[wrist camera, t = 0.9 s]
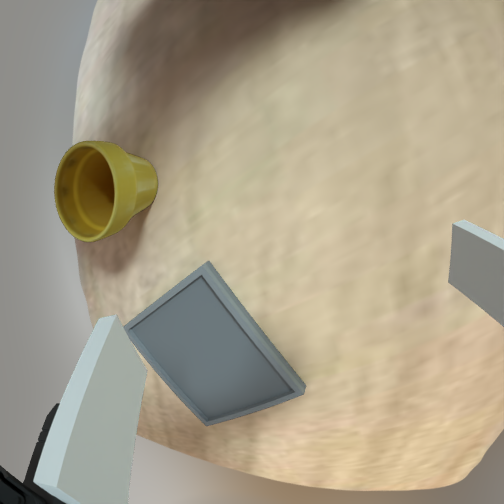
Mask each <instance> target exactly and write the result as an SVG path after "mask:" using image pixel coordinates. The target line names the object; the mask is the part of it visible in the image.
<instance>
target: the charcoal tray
mask: <svg viewBox="0 0 504 504" xmlns="http://www.w3.org/2000/svg"><path fill="white" fill-rule="evenodd" d="M123 328H124V330H125V331H126V333H127V335H128V337H129V339H130V340H131V341H132V343H133V344H134V345H135V347H136V348H137V349H138V350H139V352H140V353H141V354H142V355H143V357H144V358H145V359H146V360H147V362H148V363H149V364H150V365H151V366H152V368H153V369H154V370H155V371H156V372H157V374H158V375H159V376H160V377H161V378H162V379H163V381H164V382H165V383H166V384H167V385H168V386H169V387H170V389H171V390H172V391H173V392H174V393H175V394H176V395H177V396H178V397H179V399H180V400H181V401H182V402H183V403H184V404H185V405H186V406H187V407H188V408H189V409H190V410H191V411H192V412H193V413H194V414H195V415H196V416H197V417H198V418H199V419H200V420H201V421H202V422H203V423H204V424H205V425H206V426H209V425H213V424H217V423H220V422H224V421H227V420H231V419H234V418H238V417H241V416H244V415H247V414H250V413H254V412H257V411H260V410H263V409H265V408H268V407H271V406H274V405H277V404H280V403H282V402H285V401H288V400H290V399H293V398H296V397H298V396H301V395H303V394H304V392H305V388H306V385H305V383H304V382H303V381H302V380H301V378H300V377H299V376H298V375H297V374H296V372H295V371H294V370H293V369H292V367H291V366H290V365H289V364H288V362H287V361H286V360H285V359H284V357H283V356H282V355H281V354H280V352H279V351H278V350H277V349H276V347H275V346H274V345H273V344H272V342H271V341H270V340H269V339H268V337H267V336H266V335H265V334H264V332H263V331H262V330H261V328H260V327H259V326H258V325H257V323H256V322H255V321H254V319H253V318H252V317H251V316H250V314H249V313H248V312H247V310H246V309H245V308H244V306H243V305H242V304H241V303H240V301H239V300H238V299H237V297H236V296H235V295H234V293H233V292H232V291H231V289H230V288H229V287H228V285H227V284H226V283H225V281H224V280H223V279H222V277H221V276H220V275H219V273H218V272H217V271H216V269H215V268H214V267H213V265H212V264H211V263H210V261H208V262H206V263H205V264H203V265H202V266H200V267H199V268H198V269H197V270H195V271H194V272H193V273H191V274H190V275H189V276H187V277H186V278H185V279H184V280H182V281H181V282H180V283H178V284H177V285H176V286H175V287H173V288H172V289H171V290H169V291H168V292H167V293H166V294H164V295H163V296H162V297H160V298H159V299H158V300H157V301H155V302H154V303H153V304H152V305H150V306H149V307H148V308H146V309H145V310H144V311H143V312H141V313H140V314H139V315H138V316H136V317H135V318H134V319H132V320H131V321H130V322H129V323H127V324H126V325H125V326H124V327H123Z"/></svg>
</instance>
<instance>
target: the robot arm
mask: <svg viewBox="0 0 504 504" xmlns="http://www.w3.org/2000/svg"><path fill="white" fill-rule="evenodd" d="M448 283H450V284H451V285H452V286H454V287H455V288H456V289H458V290H459V291H460V292H462V293H463V294H464V295H465V296H467V297H468V298H469V299H470V300H472V301H473V302H474V303H475V304H477V305H478V306H479V307H480V308H482V309H483V310H484V311H485V312H487V313H488V314H489V315H490V316H491V317H493V318H494V319H495V320H496V321H497V322H499V323H500V324H501V325H502V326H503V327H504V239H503V238H501V237H499V236H497V235H495V234H493V233H491V232H489V231H487V230H485V229H483V228H481V227H479V226H476V225H474V224H472V223H470V222H468V221H466V220H462V221H459V222H456V223H453V224H452V245H451V259H450V270H449V280H448ZM147 371H148V370H147V369H146V367H145V365H144V364H143V362H142V360H141V359H140V357H139V355H138V353H137V352H136V350H135V348H134V346H133V344H132V343H131V341H130V339H129V337H128V335H127V333H126V331H125V330H124V328H123V326H122V324H121V322H120V320H119V318H118V316H117V314H116V315H112V316H107V317H103V318H99V320H98V321H97V323H96V325H95V327H94V329H93V331H92V333H91V335H90V338H89V340H88V342H87V344H86V346H85V348H84V350H83V352H82V354H81V356H80V358H79V361H78V363H77V365H76V367H75V369H74V372H73V374H72V376H71V378H70V381H69V383H68V385H67V388H66V390H65V392H64V395H63V397H62V400H61V402H60V403H59V404H56V405H55V406H54V408H53V409H52V410H51V411H50V413H49V414H48V415H47V417H46V420H45V422H44V425H43V427H42V430H43V431H42V432H41V433H40V436H39V438H38V441H39V442H37V443H36V446H35V449H34V452H33V455H32V458H31V461H30V464H29V467H28V470H27V473H26V477H25V480H24V482H23V483H21V482H20V481H19V480H18V479H16V478H15V477H14V476H12V475H11V474H10V473H9V472H8V471H6V470H5V469H4V468H3V467H1V466H0V504H128V497H129V486H130V478H131V469H132V461H133V454H134V446H135V440H136V433H137V427H138V420H139V414H140V408H141V403H142V397H143V392H144V386H145V381H146V376H147Z"/></svg>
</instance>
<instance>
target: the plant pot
mask: <svg viewBox="0 0 504 504" xmlns="http://www.w3.org/2000/svg"><path fill="white" fill-rule="evenodd" d="M157 188H158V180H157V175H156V172H155V169H154V168H153V166H152V165H151V164H150V163H149V162H148V161H147V160H146V159H144V158H141V157H138V156H135V155H132V154H129V153H126V152H125V151H124V150H123V149H122V148H120V147H119V146H117V145H116V144H113V143H110V142H104V141H83V142H79V143H77V144H75V145H74V146H72V147H71V148H70V149H69V150H68V151H67V152H66V153H65V155H64V156H63V158H62V160H61V162H60V164H59V166H58V169H57V173H56V178H55V186H54V189H55V190H54V194H55V202H56V208H57V211H58V214H59V217H60V219H61V221H62V223H63V225H64V226H65V228H66V229H67V230H68V232H69V233H70V234H71V235H73V236H74V237H75V238H77V239H78V240H81V241H83V242H95V241H98V240H101V239H103V238H106V237H108V236H111V235H113V234H115V233H117V232H119V231H120V230H121V229H123V228H124V227H125V225H126V224H127V223H128V222H129V220H130V218H131V217H133V216H134V215H136V214H137V213H139V212H140V211H142V210H143V209H145V208H147V207H148V206H149V205H150V204H151V203H152V202H153V200H154V198H155V196H156V193H157Z"/></svg>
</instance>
